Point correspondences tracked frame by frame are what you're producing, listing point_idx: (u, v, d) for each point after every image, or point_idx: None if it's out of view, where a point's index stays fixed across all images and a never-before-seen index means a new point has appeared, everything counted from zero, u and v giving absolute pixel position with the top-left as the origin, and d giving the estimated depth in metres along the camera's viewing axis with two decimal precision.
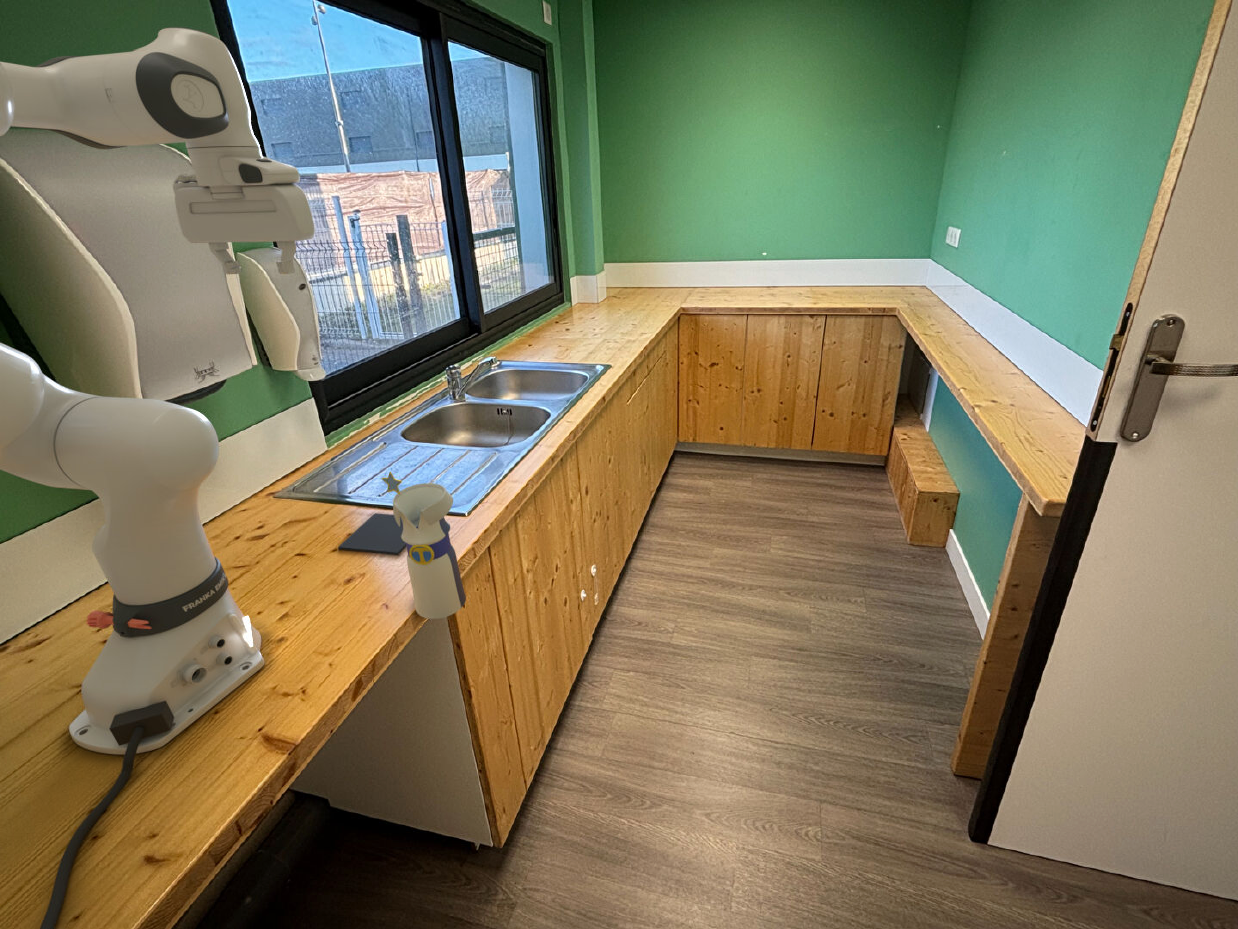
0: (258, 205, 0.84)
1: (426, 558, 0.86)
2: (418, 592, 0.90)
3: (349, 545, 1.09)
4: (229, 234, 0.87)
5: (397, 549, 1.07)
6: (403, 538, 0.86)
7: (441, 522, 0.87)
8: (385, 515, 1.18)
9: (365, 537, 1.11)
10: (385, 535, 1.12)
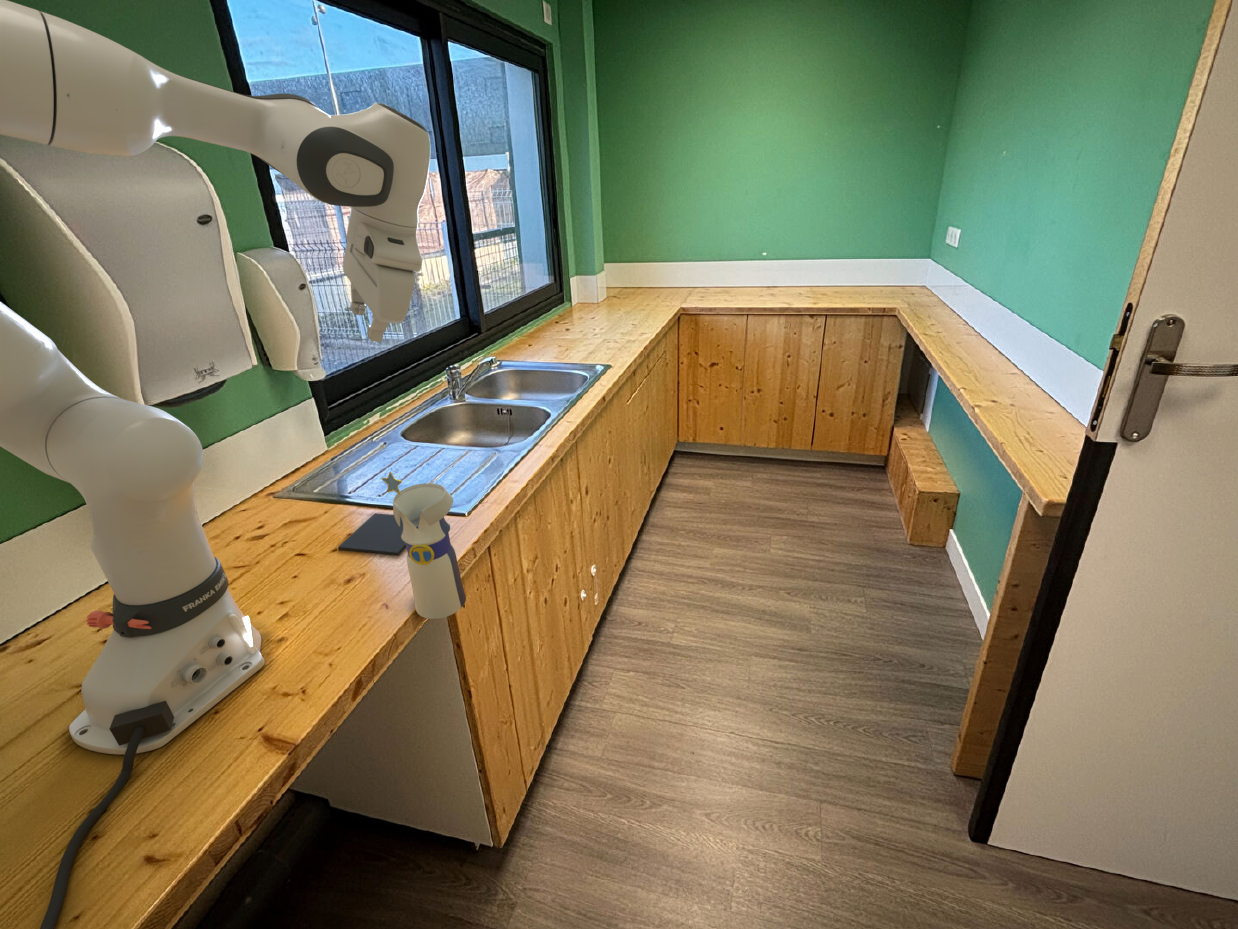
0: (374, 274, 0.83)
1: (426, 558, 0.86)
2: (418, 592, 0.90)
3: (349, 545, 1.09)
4: (355, 283, 0.89)
5: (397, 549, 1.07)
6: (403, 538, 0.86)
7: (441, 522, 0.87)
8: (385, 515, 1.18)
9: (365, 537, 1.11)
10: (385, 535, 1.12)
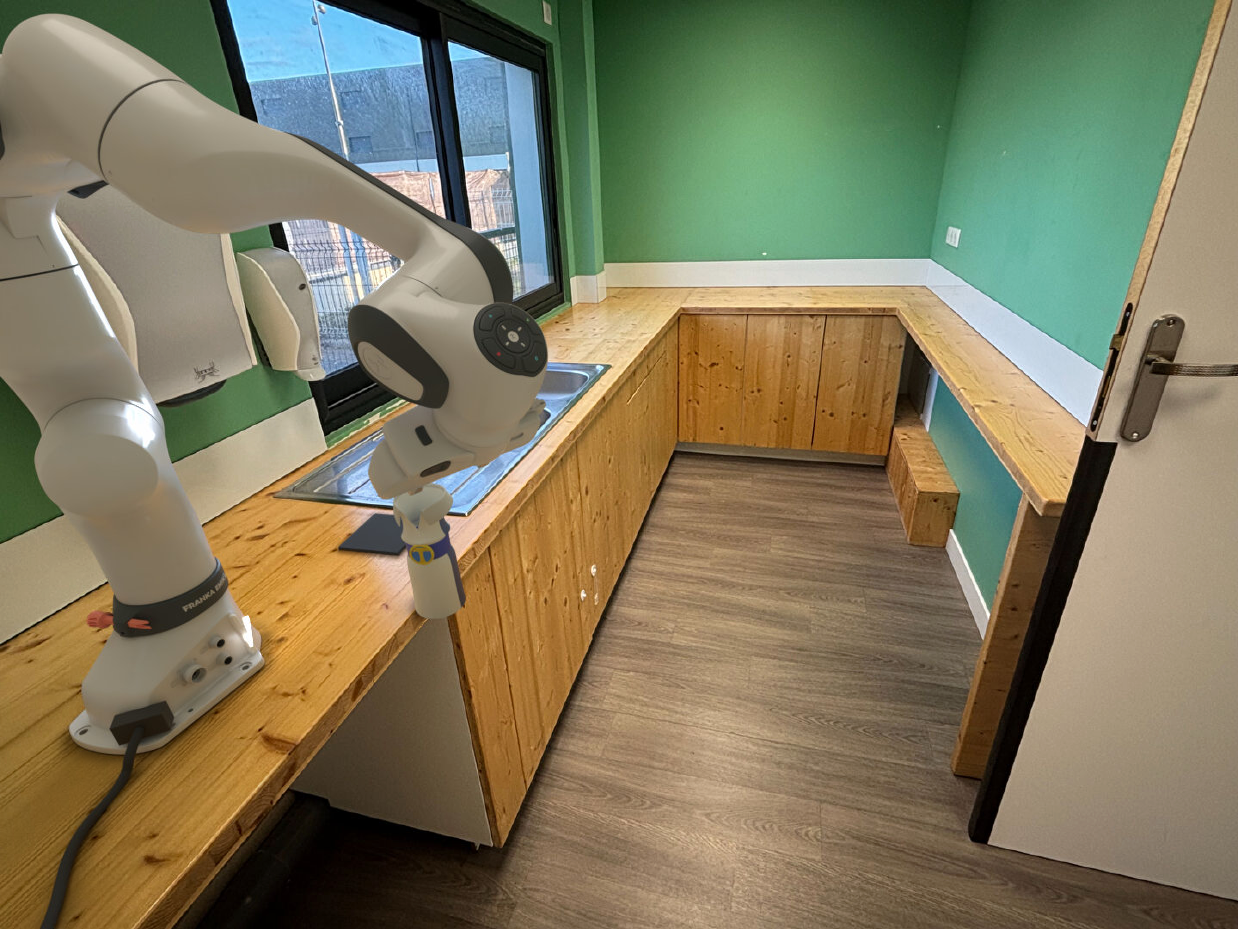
0: None
1: (426, 558, 0.86)
2: (418, 592, 0.90)
3: (349, 545, 1.09)
4: None
5: (397, 549, 1.07)
6: (403, 538, 0.86)
7: (441, 522, 0.87)
8: (385, 515, 1.18)
9: (365, 537, 1.11)
10: (385, 535, 1.12)
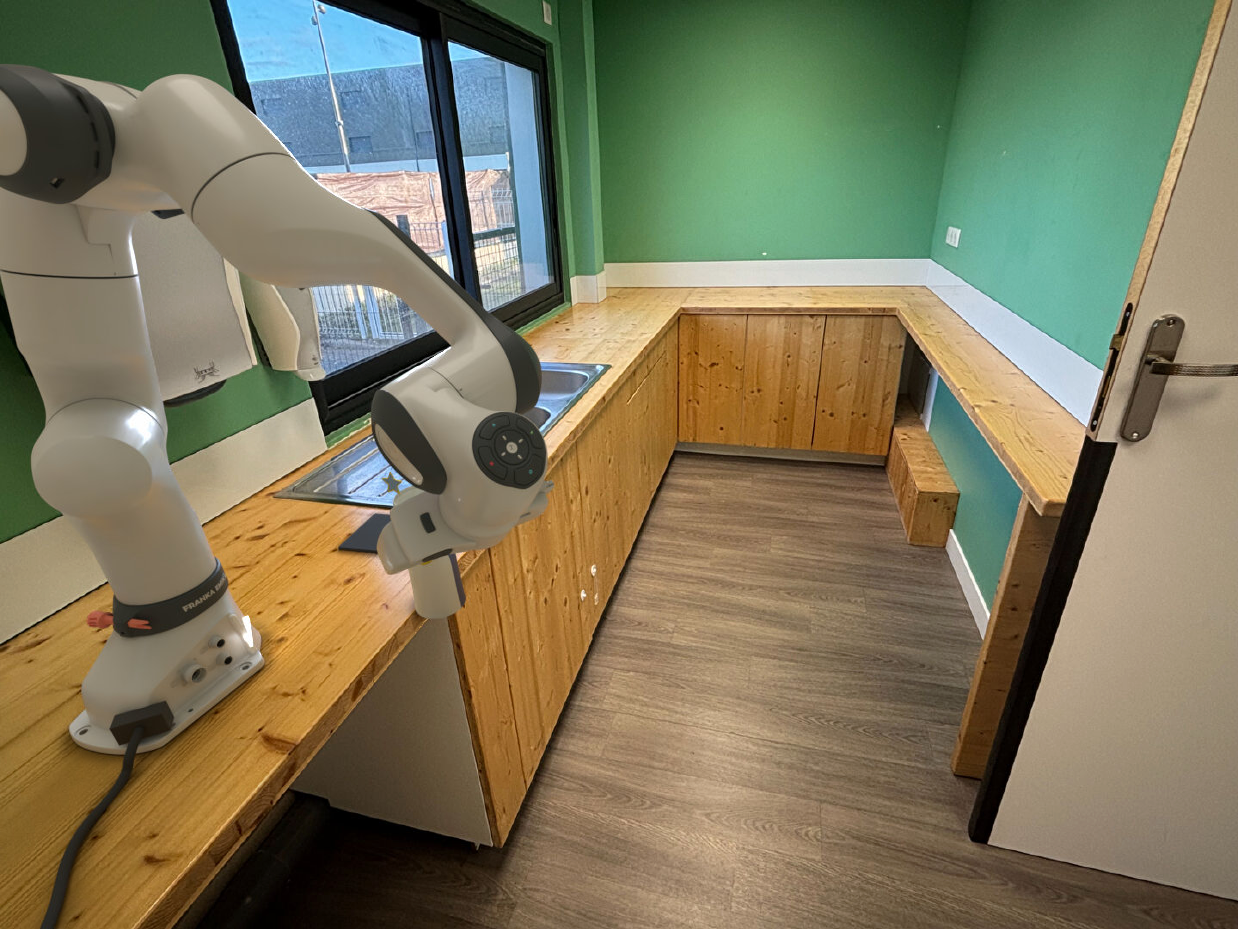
0: None
1: None
2: (418, 592, 0.90)
3: (349, 545, 1.09)
4: None
5: None
6: None
7: None
8: (385, 515, 1.18)
9: (365, 537, 1.11)
10: None
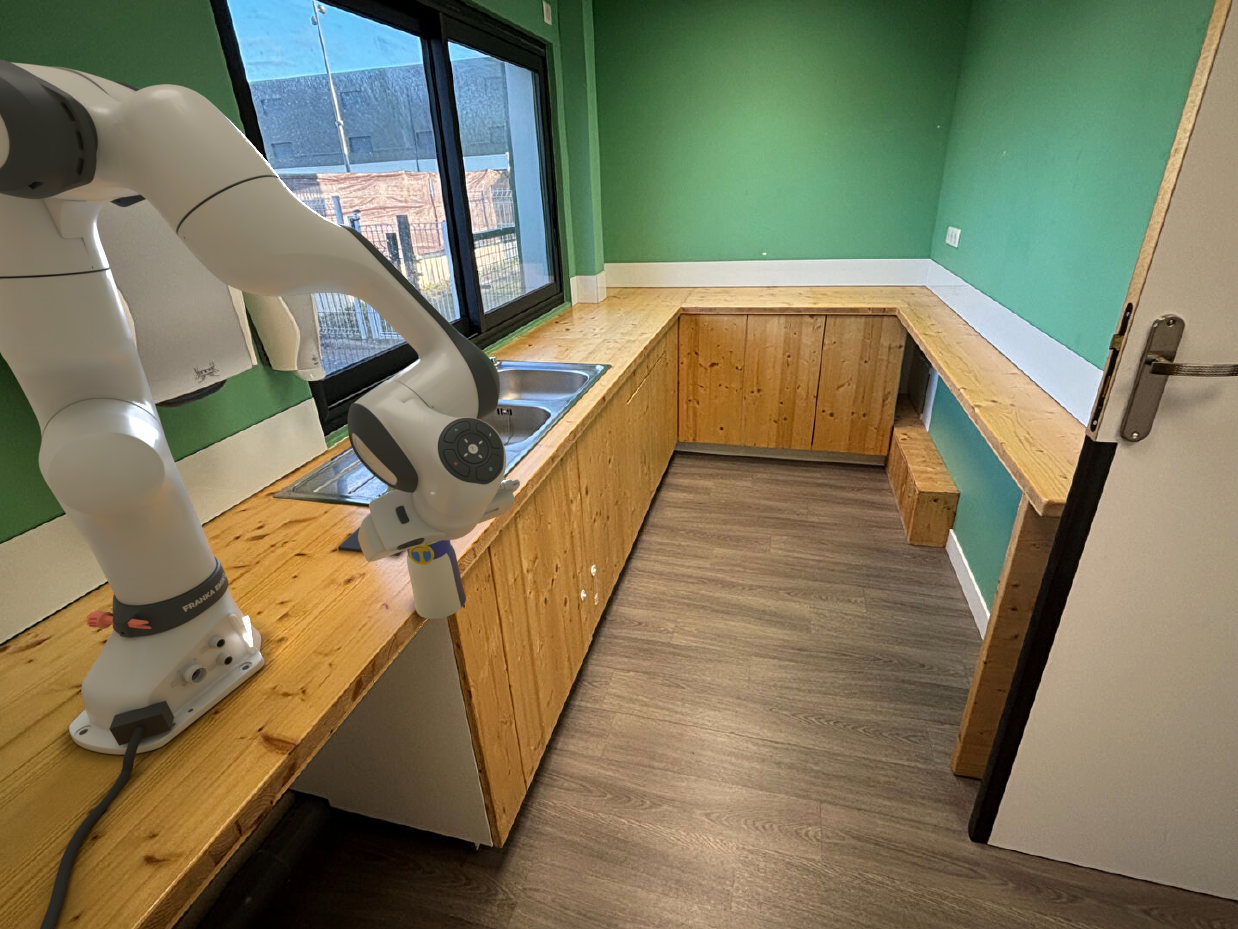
0: None
1: (426, 558, 0.87)
2: (418, 592, 0.90)
3: (349, 545, 1.09)
4: None
5: None
6: None
7: None
8: None
9: None
10: None
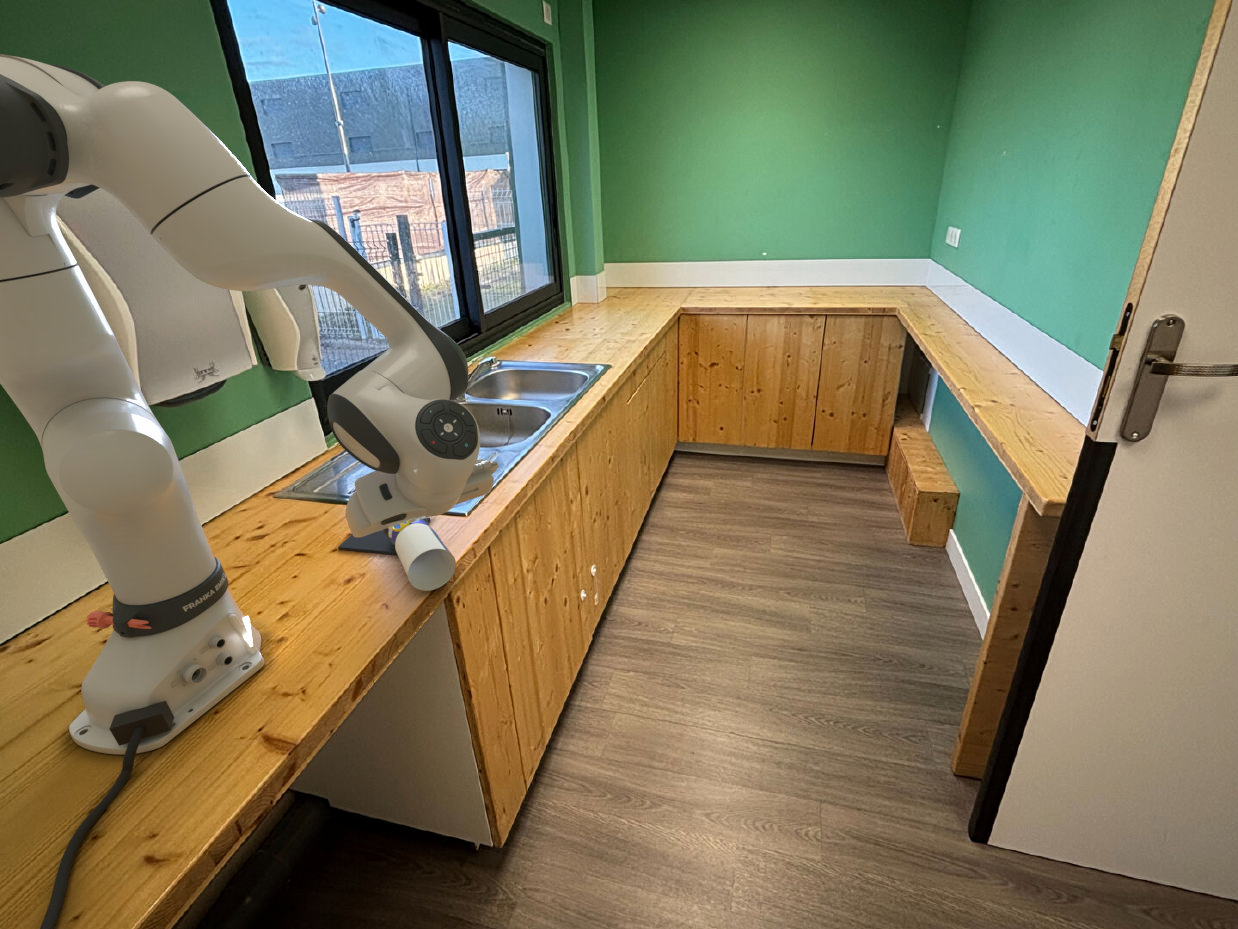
0: None
1: (405, 522, 1.02)
2: (403, 551, 0.97)
3: (349, 545, 1.09)
4: None
5: None
6: (389, 531, 1.04)
7: None
8: None
9: (365, 537, 1.11)
10: None
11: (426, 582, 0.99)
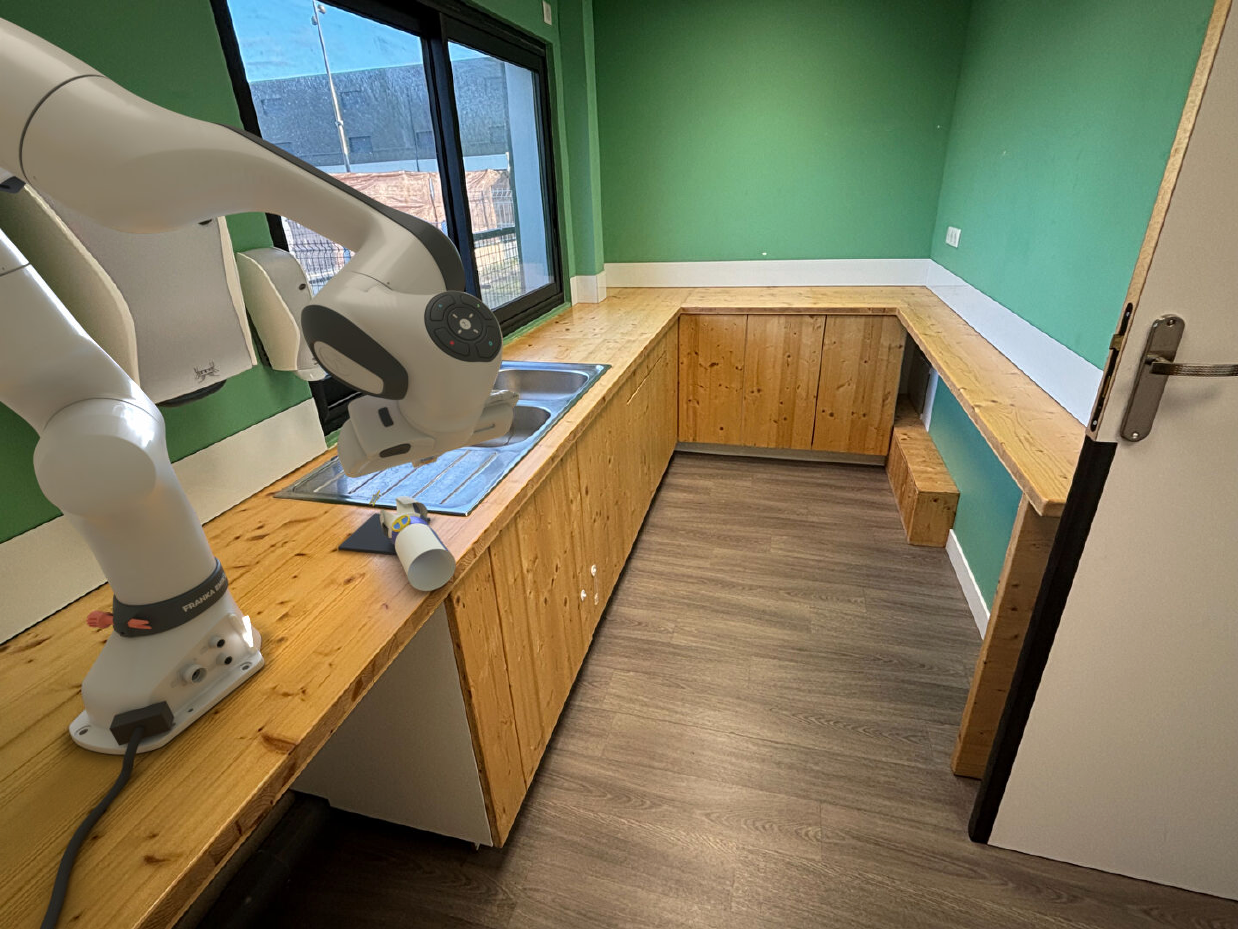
0: None
1: (405, 522, 1.02)
2: (403, 551, 0.97)
3: (349, 545, 1.09)
4: None
5: None
6: (388, 531, 1.04)
7: None
8: None
9: (365, 537, 1.11)
10: None
11: (426, 582, 0.99)
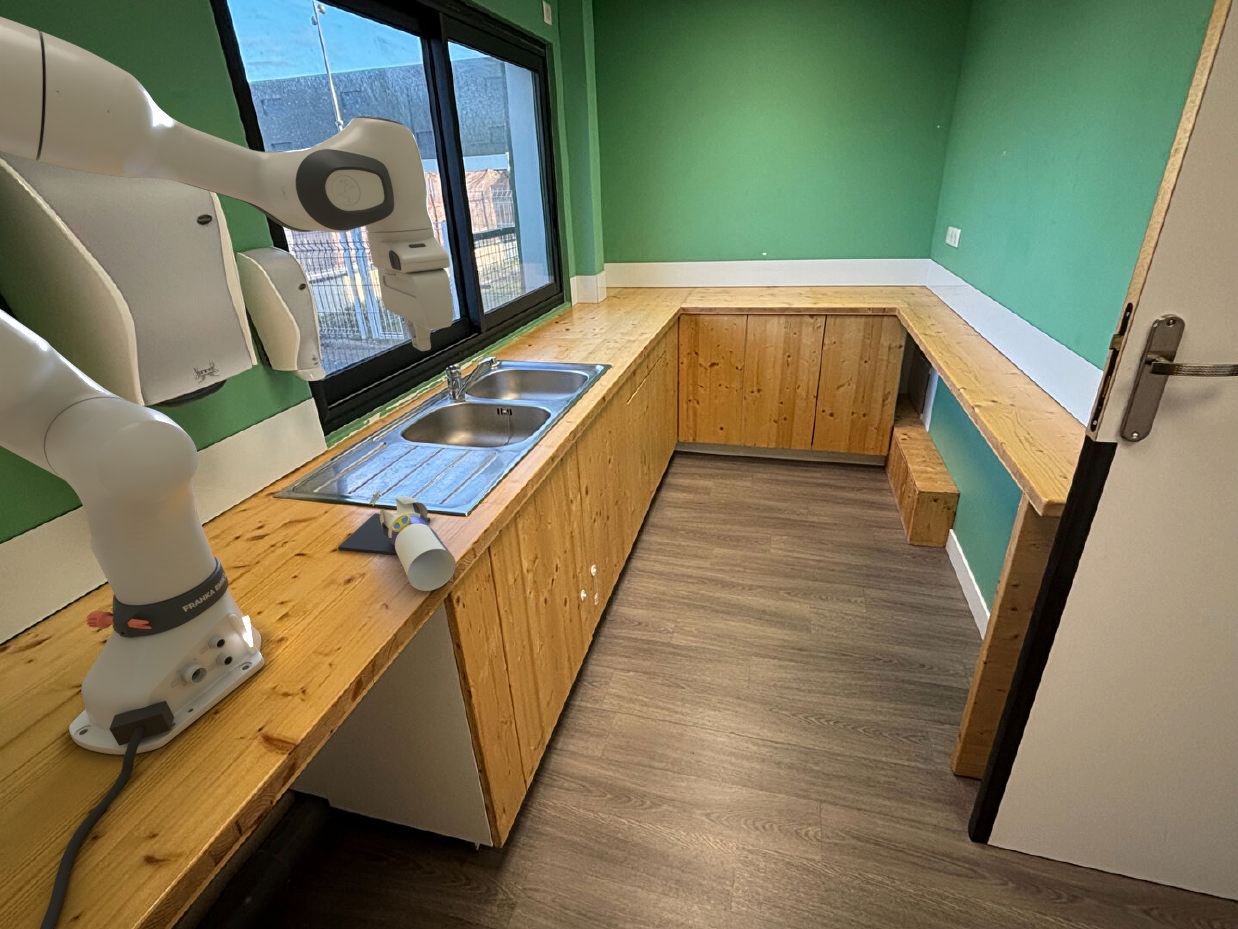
0: (410, 288, 0.82)
1: (405, 522, 1.02)
2: (403, 551, 0.97)
3: (349, 545, 1.09)
4: (399, 310, 0.88)
5: None
6: (388, 531, 1.04)
7: None
8: None
9: (365, 537, 1.11)
10: None
11: (426, 582, 0.99)
